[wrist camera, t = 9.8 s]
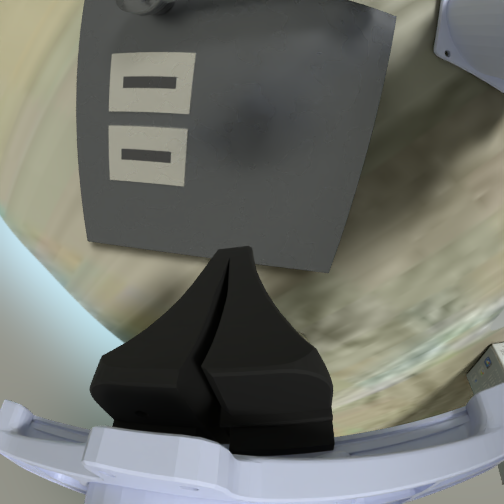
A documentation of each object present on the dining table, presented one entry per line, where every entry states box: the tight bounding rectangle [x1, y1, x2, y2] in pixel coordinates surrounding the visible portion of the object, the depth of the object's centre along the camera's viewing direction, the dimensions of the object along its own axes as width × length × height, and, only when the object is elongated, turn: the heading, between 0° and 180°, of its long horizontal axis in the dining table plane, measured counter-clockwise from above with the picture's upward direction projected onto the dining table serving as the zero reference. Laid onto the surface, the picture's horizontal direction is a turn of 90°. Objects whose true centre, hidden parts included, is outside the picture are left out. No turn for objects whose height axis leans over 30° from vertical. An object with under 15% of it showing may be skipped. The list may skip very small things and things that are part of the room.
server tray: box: [76, 0, 396, 273], centre depth 17 cm, size 18×18×4 cm
